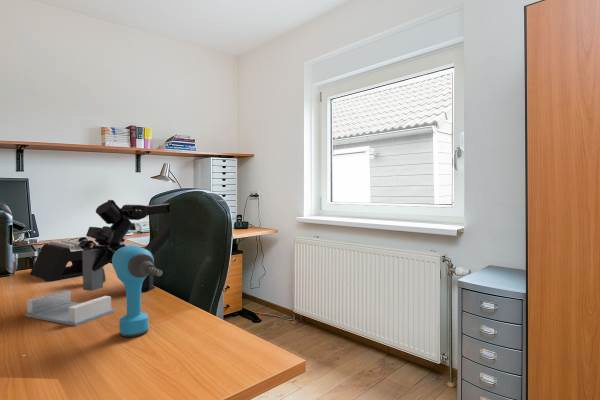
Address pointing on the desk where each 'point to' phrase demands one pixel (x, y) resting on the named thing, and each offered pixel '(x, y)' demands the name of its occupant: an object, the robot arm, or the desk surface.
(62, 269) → the device stand
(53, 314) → the vise base
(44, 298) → the bar
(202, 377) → the desk surface
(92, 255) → the steel block
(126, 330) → the power drill
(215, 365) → the desk surface
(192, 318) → the desk surface
